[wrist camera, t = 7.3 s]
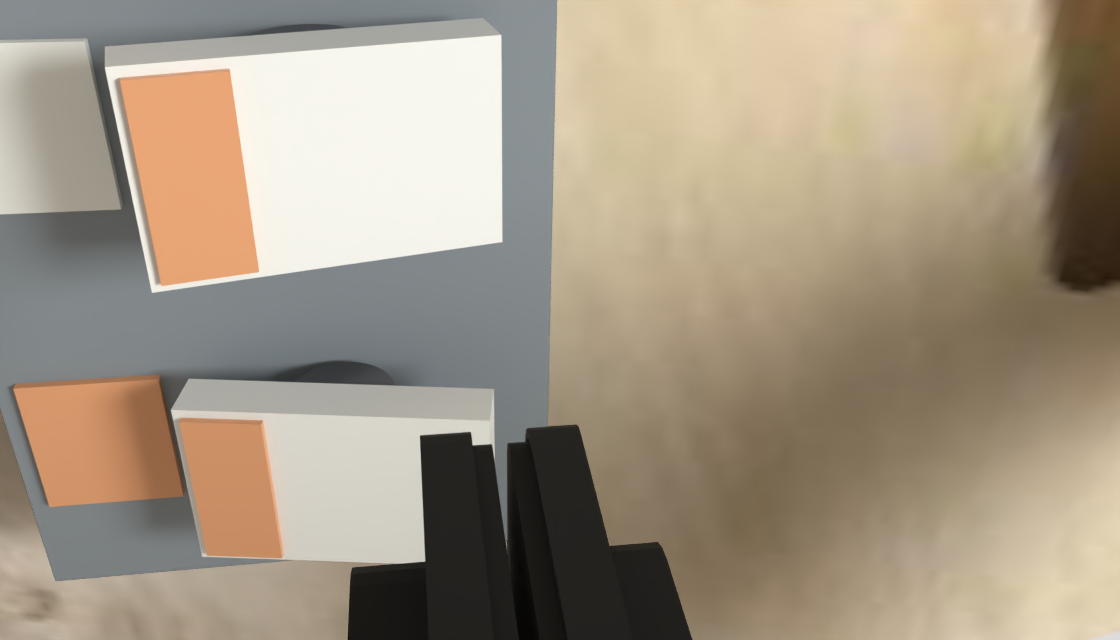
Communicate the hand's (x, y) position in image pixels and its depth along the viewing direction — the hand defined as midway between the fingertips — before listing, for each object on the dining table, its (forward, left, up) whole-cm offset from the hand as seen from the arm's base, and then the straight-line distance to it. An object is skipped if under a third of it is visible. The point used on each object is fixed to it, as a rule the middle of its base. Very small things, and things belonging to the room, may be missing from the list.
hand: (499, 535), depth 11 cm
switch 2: (-4, +8, -13) cm, 15 cm away
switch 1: (+2, +2, -13) cm, 13 cm away
